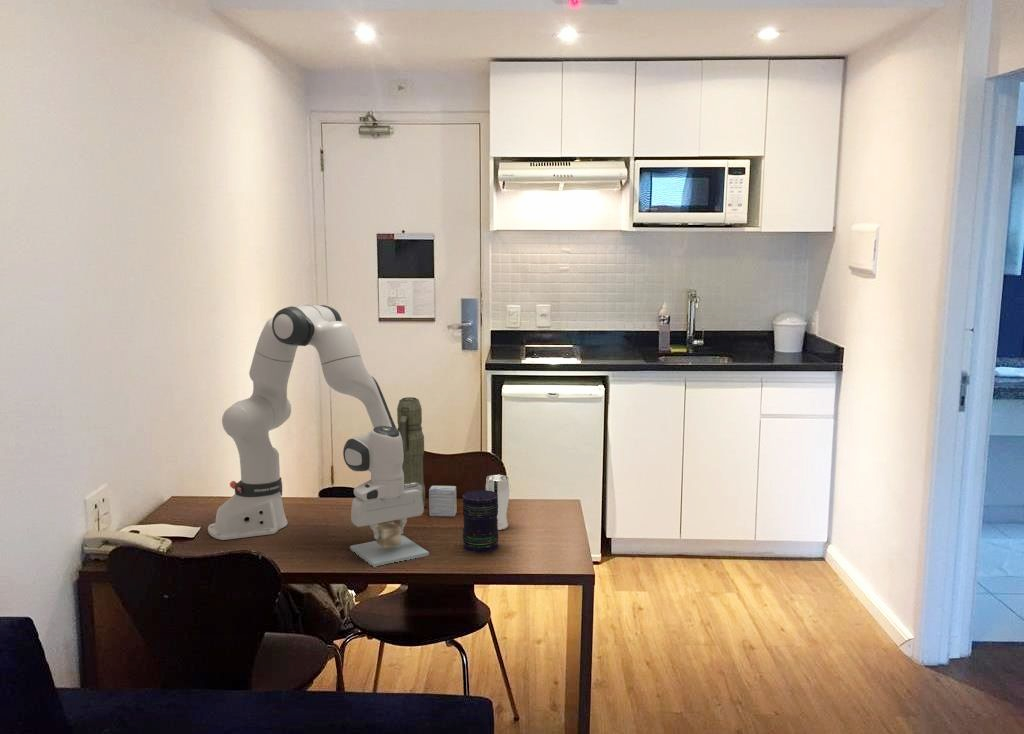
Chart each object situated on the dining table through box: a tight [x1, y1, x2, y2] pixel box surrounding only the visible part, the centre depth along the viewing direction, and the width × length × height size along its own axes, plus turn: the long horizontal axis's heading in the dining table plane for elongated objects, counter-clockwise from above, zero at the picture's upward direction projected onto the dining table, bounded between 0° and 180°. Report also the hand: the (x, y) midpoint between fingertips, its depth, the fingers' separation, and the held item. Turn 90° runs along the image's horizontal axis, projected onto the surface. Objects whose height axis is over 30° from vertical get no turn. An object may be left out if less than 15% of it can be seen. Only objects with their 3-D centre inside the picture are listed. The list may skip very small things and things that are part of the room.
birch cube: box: [376, 521, 402, 548], centre depth 239 cm, size 5×5×5 cm
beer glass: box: [485, 474, 510, 531], centre depth 260 cm, size 7×7×15 cm
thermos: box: [396, 396, 426, 508], centre depth 277 cm, size 9×12×35 cm
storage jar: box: [462, 489, 499, 554], centre depth 243 cm, size 10×10×15 cm
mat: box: [349, 534, 430, 568], centre depth 240 cm, size 16×16×1 cm
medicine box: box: [428, 485, 458, 517], centre depth 272 cm, size 8×4×9 cm, turn 84°
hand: (388, 536), depth 240 cm, fingers closed on birch cube, 5 cm apart
